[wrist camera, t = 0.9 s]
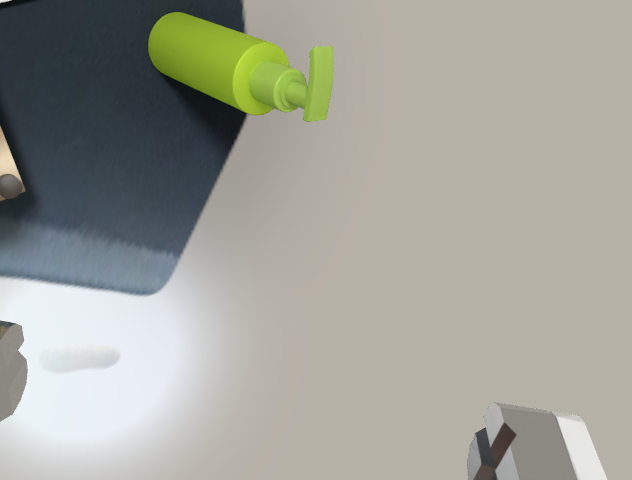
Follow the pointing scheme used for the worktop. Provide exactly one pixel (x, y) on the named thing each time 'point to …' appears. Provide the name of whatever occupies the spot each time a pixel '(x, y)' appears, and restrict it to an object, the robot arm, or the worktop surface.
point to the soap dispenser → (239, 67)
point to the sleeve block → (8, 173)
